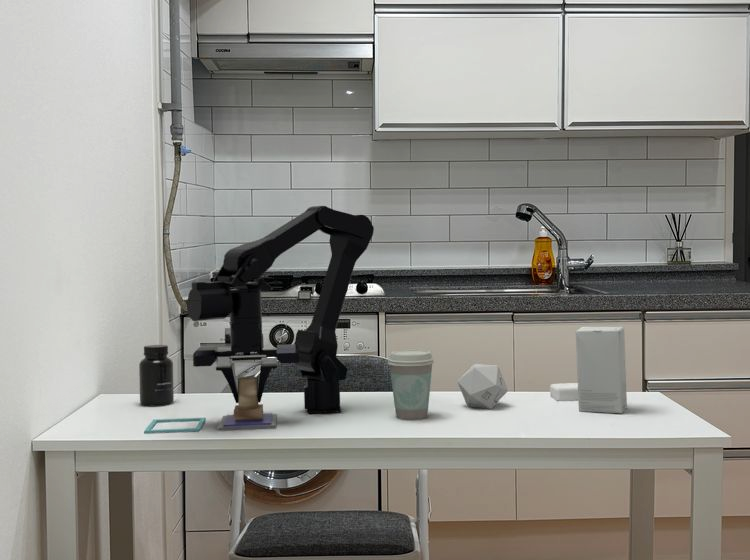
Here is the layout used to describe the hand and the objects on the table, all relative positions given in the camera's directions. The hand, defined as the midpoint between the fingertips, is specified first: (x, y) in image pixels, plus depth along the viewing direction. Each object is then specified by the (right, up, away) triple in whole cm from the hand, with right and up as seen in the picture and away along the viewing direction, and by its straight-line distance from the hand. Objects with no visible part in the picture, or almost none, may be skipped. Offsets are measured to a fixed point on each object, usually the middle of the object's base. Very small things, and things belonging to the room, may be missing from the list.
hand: (248, 402), depth 152 cm
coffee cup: (+30, -3, +3) cm, 30 cm away
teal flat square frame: (-13, -4, -1) cm, 14 cm away
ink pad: (0, -4, 0) cm, 4 cm away
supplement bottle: (-22, -4, +21) cm, 31 cm away
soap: (+64, -2, +18) cm, 66 cm away
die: (+44, -3, +11) cm, 46 cm away
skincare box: (+66, -2, +5) cm, 66 cm away
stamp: (0, -3, 0) cm, 3 cm away
